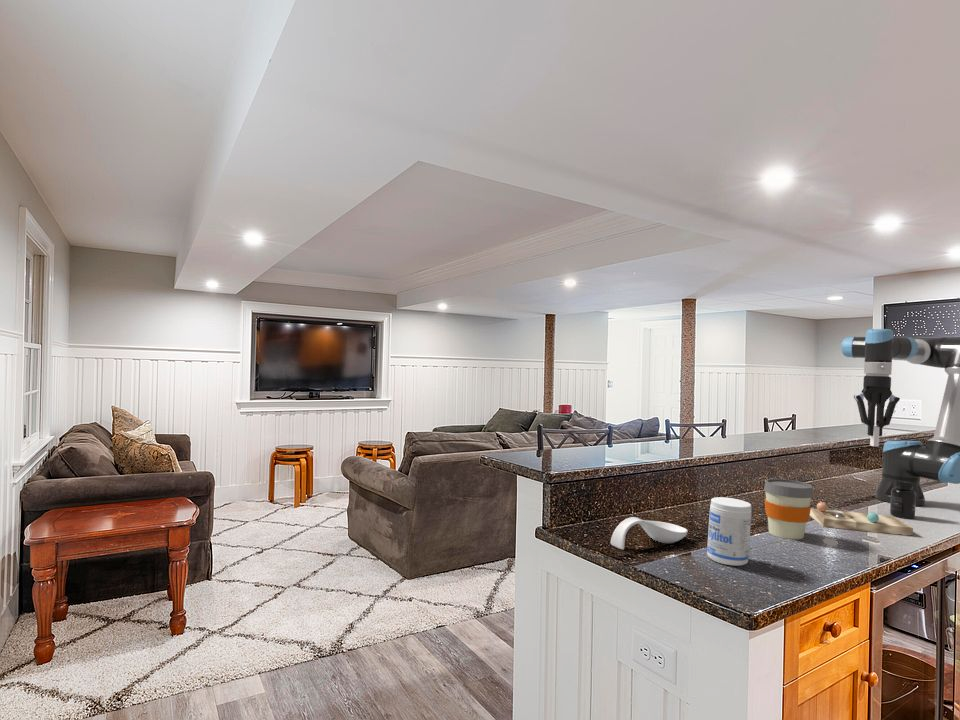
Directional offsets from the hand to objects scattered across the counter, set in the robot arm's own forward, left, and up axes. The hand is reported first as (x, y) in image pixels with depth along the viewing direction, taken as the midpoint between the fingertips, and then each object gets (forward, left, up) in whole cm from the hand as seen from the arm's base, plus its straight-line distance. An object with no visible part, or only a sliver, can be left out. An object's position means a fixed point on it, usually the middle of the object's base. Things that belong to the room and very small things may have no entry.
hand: (874, 445), depth 188 cm
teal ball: (+6, +18, -20) cm, 27 cm away
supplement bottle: (-12, -6, -24) cm, 28 cm away
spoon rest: (+74, +56, -25) cm, 96 cm away
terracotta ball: (+18, +10, -20) cm, 28 cm away
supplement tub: (+55, +63, -24) cm, 87 cm away
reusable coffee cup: (+34, +33, -24) cm, 53 cm away
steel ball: (+14, +13, -22) cm, 29 cm away
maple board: (+8, +13, -24) cm, 28 cm away
